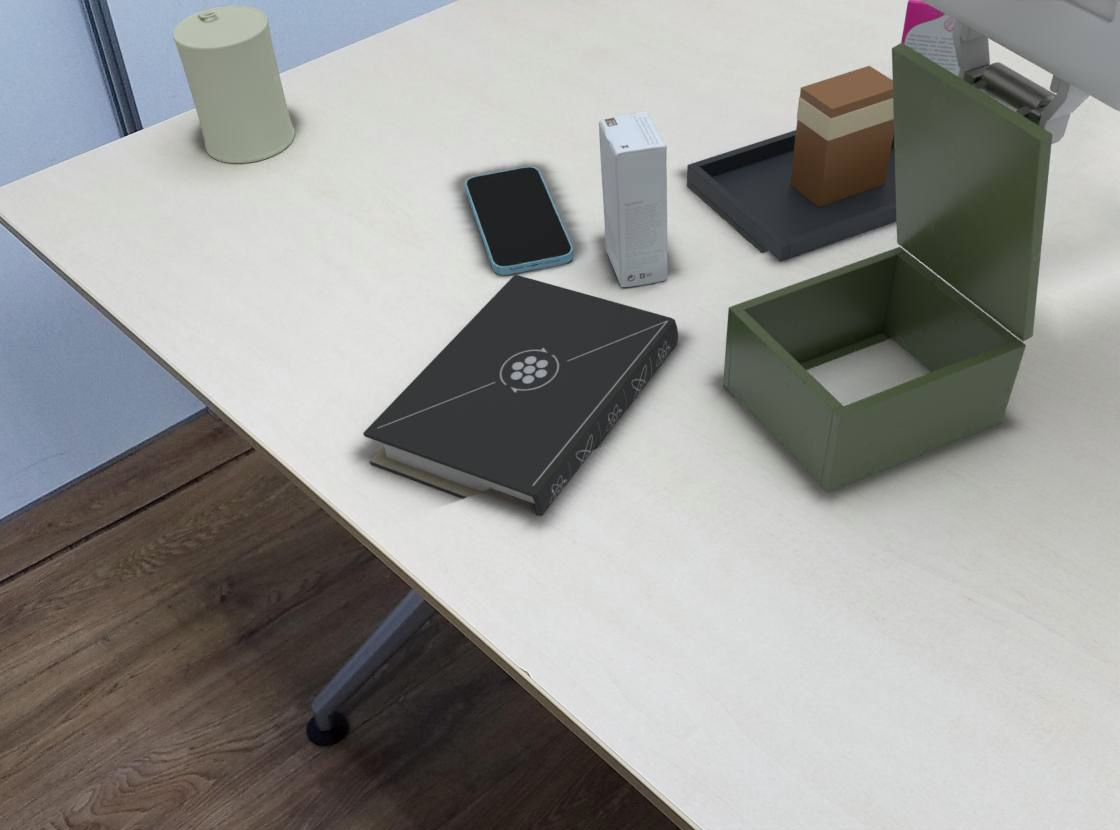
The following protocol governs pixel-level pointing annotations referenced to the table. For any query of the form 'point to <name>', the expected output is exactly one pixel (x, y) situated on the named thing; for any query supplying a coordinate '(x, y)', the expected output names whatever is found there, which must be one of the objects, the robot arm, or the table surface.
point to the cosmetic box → (634, 198)
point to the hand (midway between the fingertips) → (1006, 117)
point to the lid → (972, 181)
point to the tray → (784, 200)
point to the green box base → (851, 325)
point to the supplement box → (930, 34)
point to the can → (235, 83)
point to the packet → (843, 136)
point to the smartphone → (518, 220)
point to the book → (522, 393)
